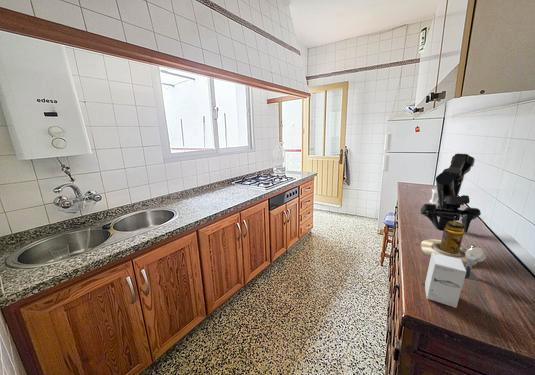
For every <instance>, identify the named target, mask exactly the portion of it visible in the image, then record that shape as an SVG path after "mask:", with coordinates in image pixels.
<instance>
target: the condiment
mask: <svg viewBox="0 0 535 375" xmlns="http://www.w3.org/2000/svg"><path fill="white" fill-rule="evenodd" d="M463 228H464V225H463V224H462V222H458V221H455V220H454V221H448V222H447V225H446V227H445V228H444V230H442V236H441V239H440V240H441V244H437V243H433V246H434V250H435V251H439V252H444V253H448V254H452V255H457V256H461V254H460V252H459V250H460V246H462V241H463V238H464V233H465V232H464V229H463ZM439 249H440V250H439ZM441 250H442V251H441Z"/></svg>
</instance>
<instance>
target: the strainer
mask: <svg viewBox="0 0 535 375" xmlns="http://www.w3.org/2000/svg"><path fill="white" fill-rule="evenodd" d="M431 192H432V195H431V199H429V204H435V205H436V208H437V207H438V205H439V203H438V200H439V199H438V192H437V188H432V189H431Z"/></svg>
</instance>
